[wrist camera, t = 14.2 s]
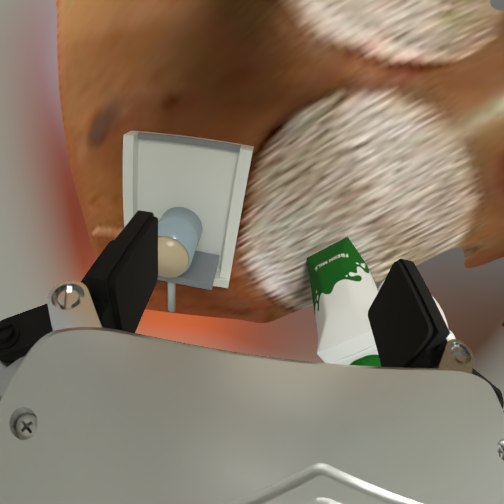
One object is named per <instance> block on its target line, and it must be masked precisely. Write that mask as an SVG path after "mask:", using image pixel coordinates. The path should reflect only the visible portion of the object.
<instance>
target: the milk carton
mask: <svg viewBox="0 0 504 504" xmlns="http://www.w3.org/2000/svg"><path fill="white" fill-rule="evenodd" d="M307 261H308V267H309V274H310V282H311V289H312V296H313V304H314V311H315V318H316V327H317V334H318V343H317V354H318V356H319V357H320V358H321V359H322V360H323V361H324V362H325V363H330V364H342V365H357V366H375V367H381V363H380V359H379V355H378V351H377V347H376V344H375V340H374V336H373V333H372V329H371V326H370V322H369V319H368V311H369V308H370V306H371V305H372V303H373V301H374V299H375V297H376V296H377V294H378V289H377V287H376V284H375V281H374V279H373V277H372V275H371V273H370V271H369V269H368V267H367V265H366V263H365V262H364V260H363V259H362V257H361V256H360V254H359V253H358V252H357V250H356V249H355V247H354V246H353V244H352V243H351V241H350V240H349V238H348V237H347V238H345V239H343V240H341V241H339V242H337V243H335V244H333V245H331V246H329V247H328V248H326V249H324V250H322V251H320V252H318V253H316V254H314V255H312V256H310V257H308V258H307Z"/></svg>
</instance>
